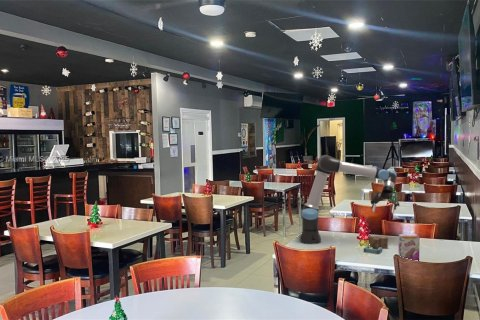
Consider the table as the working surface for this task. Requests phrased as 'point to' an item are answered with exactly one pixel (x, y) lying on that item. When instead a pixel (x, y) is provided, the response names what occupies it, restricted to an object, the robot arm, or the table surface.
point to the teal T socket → (373, 250)
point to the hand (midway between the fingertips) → (382, 212)
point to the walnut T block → (378, 242)
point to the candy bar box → (409, 246)
